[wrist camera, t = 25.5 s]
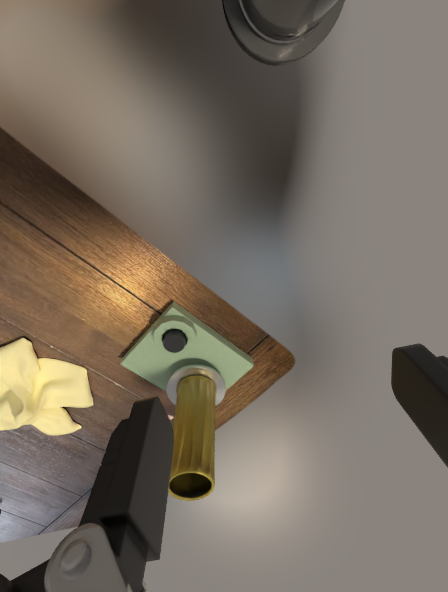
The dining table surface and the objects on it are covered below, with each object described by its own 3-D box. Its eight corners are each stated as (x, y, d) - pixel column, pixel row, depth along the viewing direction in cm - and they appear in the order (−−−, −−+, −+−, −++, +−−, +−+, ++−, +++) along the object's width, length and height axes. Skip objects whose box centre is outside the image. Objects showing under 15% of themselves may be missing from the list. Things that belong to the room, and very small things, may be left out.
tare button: (160, 338, 41) (158, 345, 40) (173, 324, 40) (171, 331, 39) (177, 349, 42) (175, 356, 41) (190, 336, 41) (189, 343, 40)
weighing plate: (155, 390, 45) (154, 393, 44) (192, 354, 42) (191, 357, 41) (200, 417, 48) (199, 420, 47) (237, 384, 45) (237, 387, 44)
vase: (173, 401, 45) (158, 500, 32) (179, 371, 42) (166, 465, 30) (211, 407, 46) (212, 505, 33) (220, 377, 43) (224, 472, 30)
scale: (123, 356, 46) (116, 371, 43) (173, 300, 42) (170, 312, 39) (201, 403, 51) (200, 420, 48) (252, 358, 47) (255, 372, 44)
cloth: (-9, 322, 42) (-42, 347, 37) (113, 371, 47) (100, 400, 42) (-39, 417, 50) (-70, 450, 45) (67, 451, 55) (51, 484, 50)
